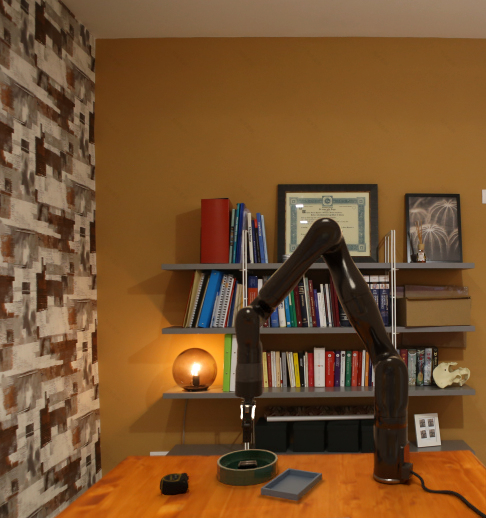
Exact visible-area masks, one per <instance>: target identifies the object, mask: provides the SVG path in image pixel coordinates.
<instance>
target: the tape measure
mask: <svg viewBox="0 0 486 518" xmlns="http://www.w3.org/2000/svg"><path fill="white" fill-rule="evenodd" d="M189 477H190V476H189V475H188V473H187V472H181V473H178V472H177V473H176V472H175V473H169V474H166V475H164V476H163V477H161V479H160V481H159V490H160V492H161V494H163V495H166V496H174V495H178V494H182V493H187V492H188V490H189Z"/></svg>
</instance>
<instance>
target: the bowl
mask: <svg viewBox="0 0 486 518" xmlns="http://www.w3.org/2000/svg"><path fill="white" fill-rule="evenodd" d="M240 461H256V462H257V468H256V469H247V470H238V464H239V463H240ZM278 473H279V457H278V455H277V453H274V452H273V451H271V450H267V449H258V448H257V449H256V448H255V449H254V448H253V449H251V448H249V449H241V450H235V451H231V452H228V453H225V454H223V455H222V456H219V458H218V459H217V461H216V480H218V481H219V483H222V484H225V485H227V486H228V485H229V486H237V487H244V486H245V487H246V486H254V485H259V484H263V483H266V482H268V481H269V482H270V481H271V480H273V479H274V478H276V477H277V476H278Z"/></svg>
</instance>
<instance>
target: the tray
mask: <svg viewBox="0 0 486 518" xmlns="http://www.w3.org/2000/svg"><path fill="white" fill-rule="evenodd" d="M322 480H323V473H322V472H316V471H309V470H303V469H296V468H291V467H288V468H287V469H285V470H284V471H282V472H281V473H279V474H277V475H276V476H275V477H274V478H272V479H271V480H269V482H267V483H266V484H264V485H263V486H262V487H260V495H262V496H267V497H272V498H278V499H285V500H289V501H296V502H298V501H299V500H300V499H302V498H303V497H304V496H306V494H308V492H310V491H311V490H312V489H313V488H314V487H315V486H316V485H318V484H319V483H320V482H321V481H322Z"/></svg>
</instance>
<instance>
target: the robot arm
mask: <svg viewBox="0 0 486 518" xmlns="http://www.w3.org/2000/svg"><path fill="white" fill-rule="evenodd" d="M320 258H322V259H323V261H324V263H325V264H326V266H327V268H328V271H329V273H330V276H331V279H332V282H333V287H334V291H335V293H336V296H337V299H338V301H339V303H340V305H341V307H342V310H343V312H344V314H345V316H346V318H347V320H348V322H349V324H350V325H351V327H352V328H353V330H354V331H355V333H356V334H357V336H358V337H359V339H360V340H361V342H362V343H363V346H364V347H365V350H366V352H367V354H368V358H369V361H370V362H371V366H372V370H373V381H374V382H373V383H374V384H373V388H374V389H373V392H374V393H373V395H374V396H373V473H372V476H373V480H375V481H377V482H379V483H382V484H390V485H394V484H395V485H396V484H405V483H406V482H407V481H409V480H410V479H411V478H412V476H414V477H416V478H417V479H418V480H419V481H420V485H421V488H422V489H423V490H424V491H425V492H427V493H430V494H431V493H432V494H443V495H444V494H447V495H453V496H455V497H458V498H459V499H461V501H462V502H463V503H465V504H466V506H467V507H469V508H470V509H472V510H473V511H474V512H475V513H476V514H478V515H479V516H480V517H482V518H486V513H484V512H483V511H482V510H480V509H478V508H477V507H476V506H475V505H473V504H472V503H471V502H469V500H467V498H466V497H464V496H463V495H462V494H460V493H459V492H457V491H454V490H449V489H439V490H436V489H430V488H428V487H427V486H426V485H425V479H424V478H423V477H422V476H421V475H420V474H418V473H417V472H415V471H414V463H413V462H410V455H411V454H410V449H411V448H410V447H411V446H410V445H411V444H410V443H411V442H410V440H408V407H409V391H410V390H409V389H410V387H409V382H410V381H409V380H410V379H409V376H410V375H409V369H408V366H407V364H406V362H405V360H404V359H403V357H402V356H401V355H400V354H399V352H398V350H397V349H396V347H395V345H394V343H393V342H392V340H391V338H390V337H389V334H388V332H387V330H386V327H385V322H384V320H383V315H382V314H381V311H380V308H379V305H378V303H377V301H376V299H375V296H374V295H373V293H372V290H371V288H370V287H369V284H368V283H367V281H366V279H365V278H364V276H363V274H362V273H361V271H360V270H359V268H358V267H357V265H356V263H355V262H354V260H353V258H352V255H351V253H350V250H349V248H348V245H347V242H346V239H345V236H344V233H343V230H342V227H341V225H340V223H339V222H337V220H335V219H334V218H332V217H328V216H323V217H318V218H317V219H315V220H313V222H312V223H311V224H310V226H309V228H308V230H307V232H306V233H305V235H304V236H303V238H302V239H301V241H300V242H299V244H298V245H297V246H296V248H295V249H294V250H293V251H292V253H291V254H290V255H289V257H288V258H287V259H286V260H285V261H284V262H283V263H282V265H281V266H279V268H278V269H277V270H276V271H275V272H274V273H272V275H271V276H270V277H269V278H268V279H267V281H266V282H265V283H264V284H263V285H262V286H261V288H260V289H259V290H258V291H257V292H258V293H257V295H256V297H254V299H253V300H252V301H251V302H250V303H249V304H248V305H247V306H243V307H241V308H240V309H239V310H238V311H237V312H236V314H235V318H234V332H235V339H236V340H235V341H236V346H237V347H236V363H235V371H234V376H235V377H234V378H235V379H234V396H235V397H237V398H240V399H241V398H242V399H243V400H242V401H241V403H240V412H241V413H240V420H241V429H242V443H243V444H249V443H251V442H252V433H253V431H254V420H255V414H256V407H257V400H255V398H259V397H261V396H262V395H263V394H264V393H263V391H264V389H263V388H264V363H263V360H264V359H263V356H264V355H263V353H264V352H263V350H264V349H263V343H262V341H261V328H262V327H263V326H264V325H265V324H266V323H267V322H268V320H269V319H270V318H271V316H272V315H273V313H274V312H275V310H276V309H277V308H278V307H279V306H280V305H281V304H282V303H283V302H284V301H285V300H286V299H287V298H288V296H289V295H290V294H291V293H292V292H293V290H294V289H295V288H296V287H297V285H298V284H299V283H300V281H301V280H302V278H303V277H304V276H305V274H306V273H307V272H308V270H310V268H311V267H312V266H313V264H314V263H315V262H317V261H318V260H319V259H320Z"/></svg>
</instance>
